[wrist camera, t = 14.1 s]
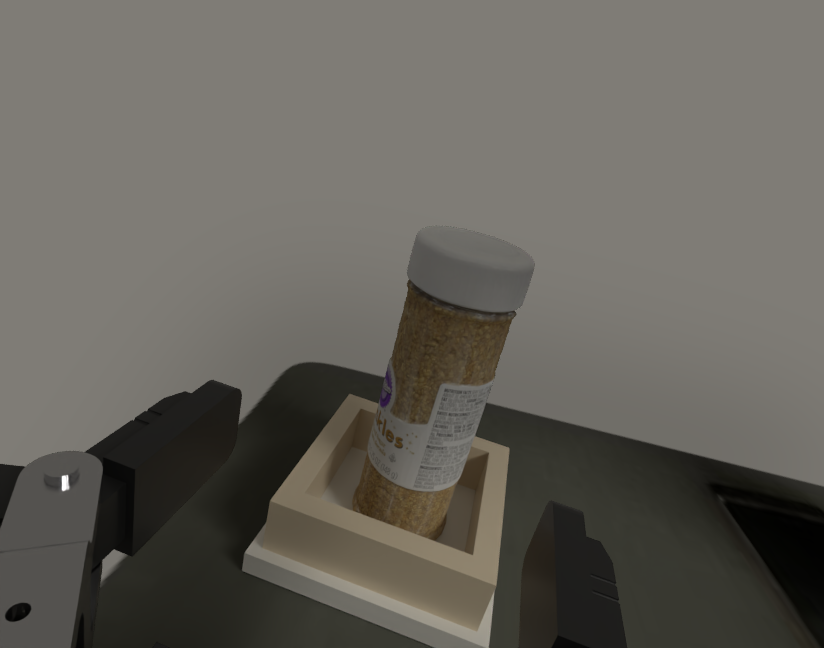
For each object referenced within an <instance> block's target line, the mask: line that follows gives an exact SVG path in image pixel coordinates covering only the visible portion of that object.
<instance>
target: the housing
mask: <svg viewBox="0 0 824 648" xmlns="http://www.w3.org/2000/svg"><path fill="white" fill-rule="evenodd" d="M377 408H378V403H375V402H372V401H369V400H366V399H363V398H360V397H357V396H355V395H352V394H349V395H348V397H347V398H346V399H345V401H344V402H343V403H342V405H341V406H340V407H339V409H338V410H337V411H336V413H335V414H334V415H333V417H332V418H331V419H330V421H329V422H328V423H327V425H326V426H325V427H324V429H323V430H322V431H321V433H320V434H319V436H318V437H317V438H316V440H315V441H314V442H313V444H312V445H311V446H310V448H309V449H308V450H307V452H306V453H305V454H304V456H303V457H302V458H301V460H300V461H299V462H298V464H297V465H296V466H295V468H294V469H293V470H292V472H291V473H290V474H289V476H288V477H287V479H286V480H285V481H284V483H283V484H282V485H281V487H280V488H279V489H278V491H277V492H276V493H275V495H274V496H273V497H272V499H271V500H270V503H269V510H268V516H267V522H266V523H265V525H264V526H263V528H262V529H261V530H260V532H259V533H258V535H257V536H256V537H255V539H254V540H253V542H252V543H251V544H250V546H249V547H248V549H247V550H246V551H245V553H244V560H243V567H242V571H243V572H246V573H248V574H251V575H254V576H256V577H259V578H261V579H264V580H266V581H269V582H271V583H274V584H276V585H279V586H281V587H284V588H286V589H289V590H291V591H294V592H296V593H299V594H301V595H304V596H306V597H309V598H311V599H314V600H316V601H319V602H321V603H324V604H326V605H329V606H331V607H334V608H336V609H339V610H341V611H344V612H346V613H349V614H352V615H354V616H357V617H359V618H362V619H364V620H367V621H369V622H372V623H374V624H377V625H379V626H382V627H384V628H387V629H389V630H392V631H394V632H397V633H399V634H402V635H404V636H407V637H409V638H412V639H414V640H417V641H419V642H422V643H424V644H427V645H429V646H432V647H434V648H489V640H490V629H491V619H492V609H493V599H494V590H495V588H496V584H497V574H498V563H499V553H500V542H501V532H502V521H503V511H504V500H505V490H506V479H507V469H508V458H509V448H508V447H505V446H502V445H499V444H496V443H493V442H490V441H487V440H484V439H481V438H479V437H476V436H475V437H474V440H473V442H472V445H471V448H470V451H469V454H468V457H467V460H466V463H465V466H464V469H463V471H462V474H461V476H460V478H459V480H458V482H457V484H456V487H455V489H454V492H453V496H452V498H451V501H450V505H449V508H448V510H447V517H446V518H447V520H446V524H445V527H444V529H443V532H442V534H441V535H440V536H439V537H438V538H437V539H436V540H435V541H433V540H430V539H428V538H425V537H422V536H419V535H417V534H414V533H411V532H409V531H406V530H403V529H400V528H398V527H395V526H392V525H390V524H387V523H384V522H382V521H379V520H376V519H373V518H371V517H368V516H365V515H363V514H360V513H357V512H355V511H353V505H352V501H353V496H354V493H355V490H356V488H357V486H358V485H359V483H360V479H361V475H362V471H363V468H364V463H365V459H366V455H367V451H368V442H369V438H370V434H371V430H372V426H373V423H374V419H375V415H376V412H377Z"/></svg>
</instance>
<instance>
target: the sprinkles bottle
mask: <svg viewBox="0 0 824 648" xmlns="http://www.w3.org/2000/svg"><path fill="white" fill-rule="evenodd" d="M534 265H535V264H534V261H533V259H532V257H531V256H530V255H529V254H528V253H526V252H525V251H524V250H522V249H520V248H519V247H517V246H515V245H513V244H510V243H508V242H506V241H503V240H501V239H498V238H495V237H492V236H489V235H485V234H482V233H479V232H475V231H471V230H467V229H462V228H455V227H448V226H429V227H425V228H423V229H422V230H420V231H419V232H418V233H417V235H416V239H415V243H414V246H413V249H412V253H411V257H410V261H409V265H408V270H407V275H408V278H409V281H408V283H407V286H408V292H407V297H406V301H405V305H404V310H403V314H402V317H401V321H400V324H399V329H398V333H397V334H398V335H397V338H396V342H395V346H394V350H393V354H392V357H391V358H390V360H389V364H388V368H387V372H386V376H385V380H384V384H383V388H382V392H381V396H380V400H379V404H378V408H377V412H376V415H375V419H374V423H373V426H372V430H371V434H370V438H369V442H368V451H367V455H366V459H365V463H364V468H363V471H362V475H361V479H360V483H359V485H358V486H357V488H356V490H355V493H354V496H353V501H352V505H353V511H355V512H357V513H360V514H363V515H365V516H368V517H371V518H373V519H376V520H379V521H382V522H384V523H387V524H390V525H392V526H395V527H398V528H400V529H403V530H406V531H409V532H411V533H414V534H417V535H419V536H422V537H425V538H428V539H430V540H433V541H435V540H436V539H437V538H438V537H439V536H440V535H441V534H442V532H443V529H444V527H445V524H446V520H447V518H446V517H447V510H448V508H449V505H450V501H451V498H452V496H453V492H454V489H455V487H456V484H457V482H458V480H459V478H460V476H461V474H462V471H463V469H464V466H465V463H466V460H467V457H468V454H469V451H470V448H471V445H472V442H473V440H474V437H475V434H476V431H477V428H478V425H479V422H480V419H481V416H482V413H483V410H484V407H485V404H486V401H487V398H488V395H489V393H490V390H491V387H492V384H493V381H494V378H495V370H496V368H497V364H498V361H499V358H500V355H501V352H502V350H503V347H504V343H505V340H506V337H507V334H508V331H509V327H510V324H511V321H512V319H513V318H514V317H515V316H516V312H515V311H514V310H517V309H518V308H520V307H521V306H522V304H523V301H524V298H525V296H526V293H527V290H528V287H529V284H530V281H531V278H532V274H533V271H534Z"/></svg>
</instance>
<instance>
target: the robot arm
mask: <svg viewBox="0 0 824 648" xmlns="http://www.w3.org/2000/svg"><path fill="white" fill-rule="evenodd" d="M241 397H242V394H241V391H240V389H237V388H234V387H231V386H229V385H226V384H223V383H220V382H217V381H214V380H210V381H208V382H207V383H205V384H204V385H203V386H201V387H200V388H198V389H197V390H196V391H194V392H193V393H188V392H182V393H179V394H175V395H172V396H169V397H166V398H164V399H162V400H161V401H159V402H158V403H156V404H155V405H153V406H152V407H151V408H149V409H148V411H147V412H146V411H144V412H143V413H142V414H140V415H139V416H137V417H136V418H135V420H134V421H133V420H132V421H130V422H128V423H127V424H125V425H124V426H122V427H121V428H120V429H118V430H117V431H115V432H114V433H112V434H111V435H109V436H108V437H106V438H105V439H103V440H102V441H100V442H99V443H97V444H96V445H94V446H93V447H91V448H90V449H89V450H87V451H86V452H79V451H65V452H57V453H52V454H49V455H46V456H43V457H41V458H38V459H37V460H35V461H33V462H32V463H30V464H28V465H27V466H26V467H24V466H14V465H5V464H0V648H92V646H93V638H94V630H95V622H96V614H97V606H98V598H99V590H100V582H101V574H102V560H103V559H104V558H105V557H106V556H107V555H108V554H109V553H110V552H111V551H112V550H113V549H115V550H117V551H120V552H122V553H125V554H127V555H129V556H133V555H134V554H135V553H136V552H137V551H138V550H139V549H140V548H141V547H142V546H143V545H144V544H145V543H146V542H147V541H148V540H149V539H150V538H151V537H152V536H153V535H154V534H155V533H156V532H157V531H158V530H159V529H160V528H161V527H162V526H163V525H164V524H165V523H166V522H167V521H168V520H169V519H170V518H171V517H172V516H173V515H174V514H175V513H176V512H177V511H178V510H179V509H180V508H181V507H182V506H183V505H184V504H185V503H186V502H187V501H188V500H189V499H190V498H191V497H192V496H193V495H194V493H195V492H196V491H197V490H198V489H199V488H200V487H201V486H202V485H203V484H204V483H205V482H206V481H207V480H208V479H209V478H210V477H211V476H212V475H213V474H214V473H215V472H216V471H217V470H218V469H219V468H220V467H221V466H222V465H223V464H224V463H225V462H226V461H227V459H228V458H229V456H230V454H231V453H232V451H233V448H234V446H235V442H236V438H237V430H238V422H239V414H240V406H241V399H242V398H241ZM615 584H616V580H615V574H614V568H613V563H612V561H611V559H610V557H609V556H608V554H607V552H606V550H605V549H604V547H603V545H602V544H601V542H600V541H597V540H594V539H592V538H589V537H586V531H585V522H584V515H583V512H582V511H580V510H577V509H574V508H571V507H568V506H566V505H563V504H560V503H557V502H554V501H549V502H548V504H547V506H546V508H545V510H544V512H543V515H542V517H541V519H540V522H539V524H538V526H537V528H536V531H535V533H534V535H533V538H532V540H531V542H530V544H529V547H528V549H527V552H526V555H525V559H524V563H523V569H522V579H521V603H520V626H519V648H627V644H626V638H625V632H624V627H623V621H622V615H621V609H620V604H619V603H618V600H619V598H618V592H617V587H616V586H615ZM152 648H169V647H167V646H165V645H162V644H160V643H158V642H156V643H155V645H154V646H153V647H152Z"/></svg>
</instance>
